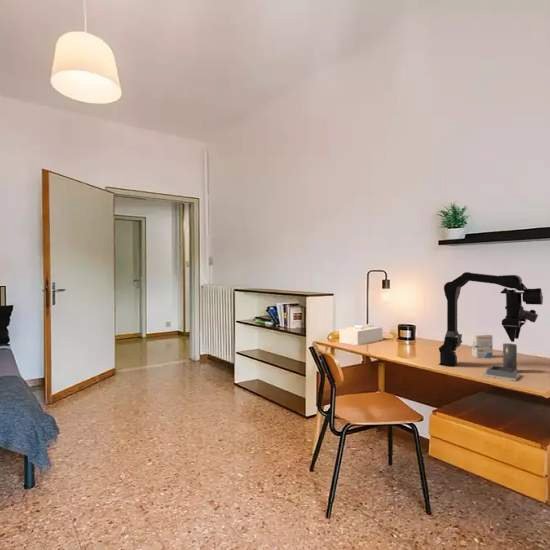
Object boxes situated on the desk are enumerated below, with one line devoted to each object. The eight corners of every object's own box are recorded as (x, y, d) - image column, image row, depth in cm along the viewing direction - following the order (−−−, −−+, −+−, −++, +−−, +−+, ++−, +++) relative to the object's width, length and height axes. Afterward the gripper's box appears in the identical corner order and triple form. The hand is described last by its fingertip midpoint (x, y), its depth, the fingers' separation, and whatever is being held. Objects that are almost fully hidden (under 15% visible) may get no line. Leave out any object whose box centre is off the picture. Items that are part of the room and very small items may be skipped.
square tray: (483, 376, 168) (482, 369, 168) (489, 371, 176) (489, 364, 176) (515, 381, 160) (515, 373, 160) (520, 375, 168) (520, 368, 168)
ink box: (487, 355, 207) (487, 333, 207) (492, 358, 202) (492, 335, 202) (471, 356, 207) (471, 333, 206) (476, 358, 202) (476, 335, 201)
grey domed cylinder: (501, 371, 175) (501, 344, 175) (504, 369, 179) (504, 342, 179) (515, 373, 172) (515, 346, 172) (517, 371, 176) (517, 344, 175)
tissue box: (339, 342, 250) (339, 325, 250) (364, 337, 266) (364, 321, 266) (357, 345, 239) (357, 327, 239) (382, 340, 255) (382, 323, 255)
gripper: (532, 306, 158) (533, 345, 158) (539, 303, 172) (540, 338, 172) (500, 305, 165) (501, 342, 165) (510, 302, 179) (511, 336, 179)
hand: (514, 340), depth 170 cm, fingers open, 9 cm apart
